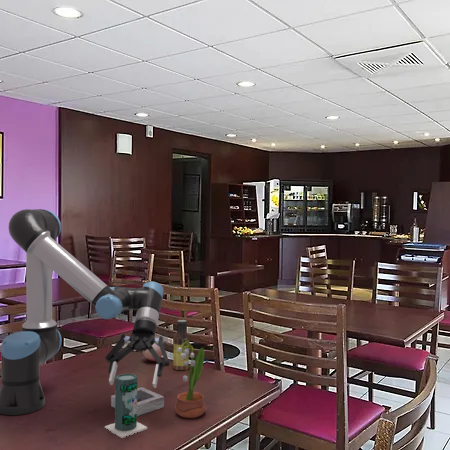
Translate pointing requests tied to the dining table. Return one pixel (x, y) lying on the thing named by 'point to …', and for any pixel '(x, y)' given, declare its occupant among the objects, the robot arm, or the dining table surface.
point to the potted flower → (191, 386)
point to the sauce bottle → (178, 342)
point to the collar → (145, 401)
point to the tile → (125, 433)
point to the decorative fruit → (149, 355)
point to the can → (125, 402)
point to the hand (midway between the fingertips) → (132, 384)
